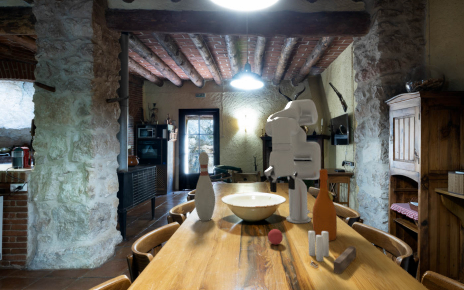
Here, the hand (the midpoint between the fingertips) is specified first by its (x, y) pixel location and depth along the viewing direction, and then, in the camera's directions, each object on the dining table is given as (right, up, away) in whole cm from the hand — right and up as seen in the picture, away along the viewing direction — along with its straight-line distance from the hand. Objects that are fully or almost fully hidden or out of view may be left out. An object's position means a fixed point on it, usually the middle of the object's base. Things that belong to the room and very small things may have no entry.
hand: (282, 190), depth 104 cm
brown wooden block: (+18, -22, -16) cm, 33 cm away
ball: (-3, -20, +3) cm, 20 cm away
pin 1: (+11, -22, -12) cm, 28 cm away
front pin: (+9, -22, -8) cm, 26 cm away
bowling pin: (-35, -24, +40) cm, 58 cm away
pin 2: (+14, -22, -9) cm, 28 cm away
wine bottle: (+20, -22, +8) cm, 31 cm away
